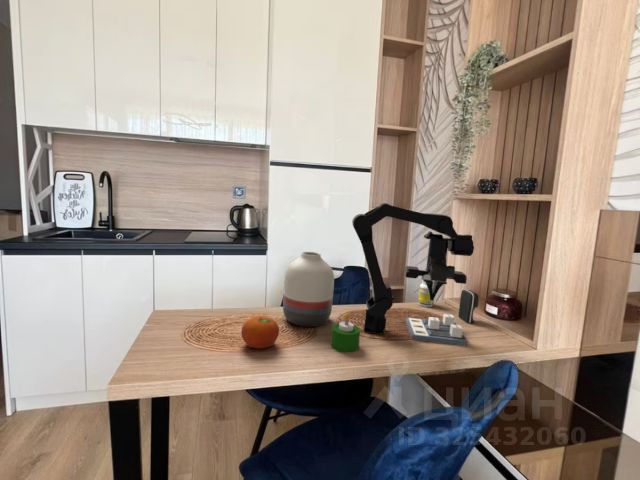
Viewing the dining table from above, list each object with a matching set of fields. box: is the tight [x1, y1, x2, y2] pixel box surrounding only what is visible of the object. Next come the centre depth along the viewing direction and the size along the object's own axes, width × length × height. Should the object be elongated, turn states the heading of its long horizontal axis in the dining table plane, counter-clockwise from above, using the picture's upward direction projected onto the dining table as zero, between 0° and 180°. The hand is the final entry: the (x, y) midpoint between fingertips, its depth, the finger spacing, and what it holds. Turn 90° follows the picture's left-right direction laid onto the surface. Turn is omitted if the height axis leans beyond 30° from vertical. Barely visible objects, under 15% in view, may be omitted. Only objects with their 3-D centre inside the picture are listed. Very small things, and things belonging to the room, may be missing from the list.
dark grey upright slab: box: [458, 289, 480, 324], centre depth 134 cm, size 7×4×11 cm, turn 10°
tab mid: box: [427, 316, 441, 330], centre depth 119 cm, size 3×3×3 cm
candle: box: [330, 313, 361, 354], centre depth 104 cm, size 8×8×10 cm
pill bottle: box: [417, 280, 435, 308], centre depth 149 cm, size 6×6×11 cm
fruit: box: [241, 315, 280, 349], centre depth 101 cm, size 11×10×8 cm
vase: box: [282, 251, 335, 328], centre depth 121 cm, size 17×17×24 cm
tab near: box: [450, 324, 464, 338], centre depth 114 cm, size 3×3×3 cm
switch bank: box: [405, 317, 468, 346], centre depth 120 cm, size 17×16×2 cm
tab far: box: [442, 313, 455, 326], centre depth 124 cm, size 3×3×3 cm
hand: (431, 300), depth 116 cm, fingers closed
